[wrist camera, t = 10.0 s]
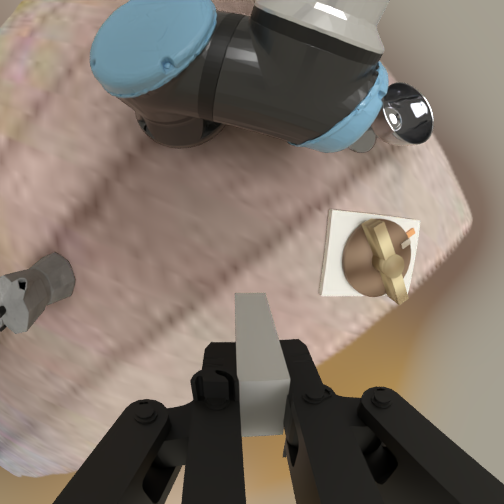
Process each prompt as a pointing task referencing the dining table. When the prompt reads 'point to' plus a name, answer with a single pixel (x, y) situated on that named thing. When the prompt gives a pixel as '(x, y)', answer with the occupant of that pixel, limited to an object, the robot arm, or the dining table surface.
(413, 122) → the wine glass
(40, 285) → the coffeepot
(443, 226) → the dining table surface
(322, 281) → the base plate
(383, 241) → the capstan dial
